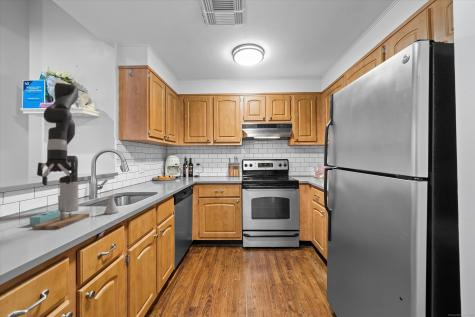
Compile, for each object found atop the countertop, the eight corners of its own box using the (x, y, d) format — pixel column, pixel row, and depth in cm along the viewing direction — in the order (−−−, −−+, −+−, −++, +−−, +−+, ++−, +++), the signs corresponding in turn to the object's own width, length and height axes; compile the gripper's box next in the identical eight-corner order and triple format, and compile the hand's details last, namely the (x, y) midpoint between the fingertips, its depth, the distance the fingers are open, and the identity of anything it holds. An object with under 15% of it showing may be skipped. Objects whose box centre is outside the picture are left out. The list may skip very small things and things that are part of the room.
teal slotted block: (29, 225, 116) (29, 217, 116) (51, 218, 129) (50, 210, 129) (40, 225, 116) (40, 217, 116) (60, 218, 129) (60, 210, 129)
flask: (112, 214, 136) (112, 196, 135) (101, 214, 137) (100, 196, 137) (121, 211, 143) (120, 194, 143) (110, 211, 144) (110, 194, 144)
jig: (32, 229, 110) (32, 218, 110) (67, 216, 132) (66, 207, 132) (59, 229, 110) (58, 218, 110) (89, 216, 132) (88, 207, 132)
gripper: (77, 151, 120) (76, 184, 118) (41, 151, 114) (40, 186, 112) (73, 148, 113) (73, 183, 111) (35, 148, 107) (34, 185, 105)
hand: (56, 184), depth 112 cm, fingers open, 8 cm apart
